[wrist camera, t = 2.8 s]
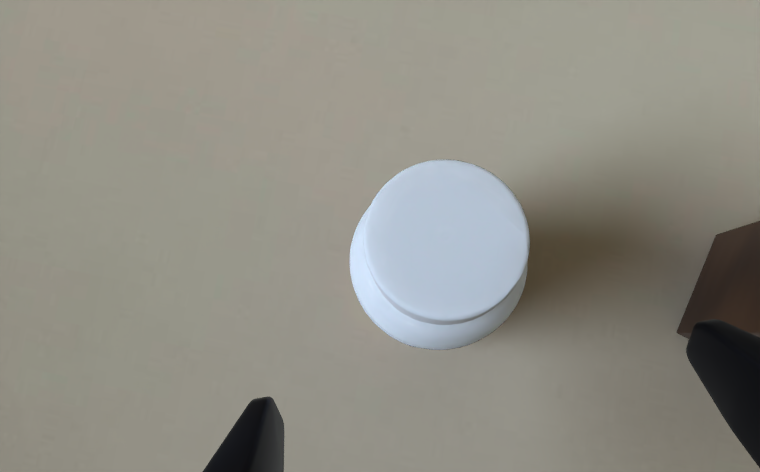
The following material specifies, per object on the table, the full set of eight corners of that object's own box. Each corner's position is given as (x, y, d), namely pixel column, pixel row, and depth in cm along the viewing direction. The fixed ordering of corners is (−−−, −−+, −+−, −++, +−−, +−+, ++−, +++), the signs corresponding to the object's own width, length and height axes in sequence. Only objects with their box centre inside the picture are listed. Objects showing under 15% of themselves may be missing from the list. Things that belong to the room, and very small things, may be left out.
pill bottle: (478, 224, 20) (545, 123, 10) (492, 341, 19) (582, 348, 9) (365, 232, 20) (328, 141, 11) (371, 348, 19) (336, 362, 9)
